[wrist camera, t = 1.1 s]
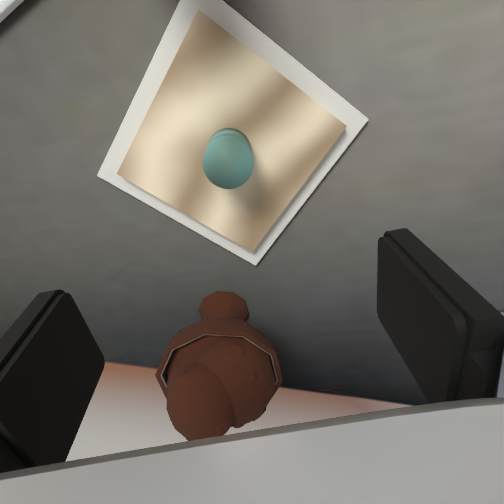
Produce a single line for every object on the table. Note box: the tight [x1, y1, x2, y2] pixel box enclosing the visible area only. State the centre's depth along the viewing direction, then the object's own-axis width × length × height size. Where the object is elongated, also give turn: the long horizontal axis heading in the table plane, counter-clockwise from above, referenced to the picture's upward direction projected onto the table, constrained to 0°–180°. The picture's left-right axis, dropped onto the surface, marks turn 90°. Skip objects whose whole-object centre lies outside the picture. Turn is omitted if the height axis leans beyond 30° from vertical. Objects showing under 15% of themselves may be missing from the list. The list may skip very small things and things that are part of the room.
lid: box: [117, 9, 347, 252], centre depth 27 cm, size 14×14×6 cm
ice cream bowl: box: [155, 291, 283, 441], centre depth 31 cm, size 11×11×15 cm
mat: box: [97, 0, 369, 266], centre depth 29 cm, size 17×17×1 cm
